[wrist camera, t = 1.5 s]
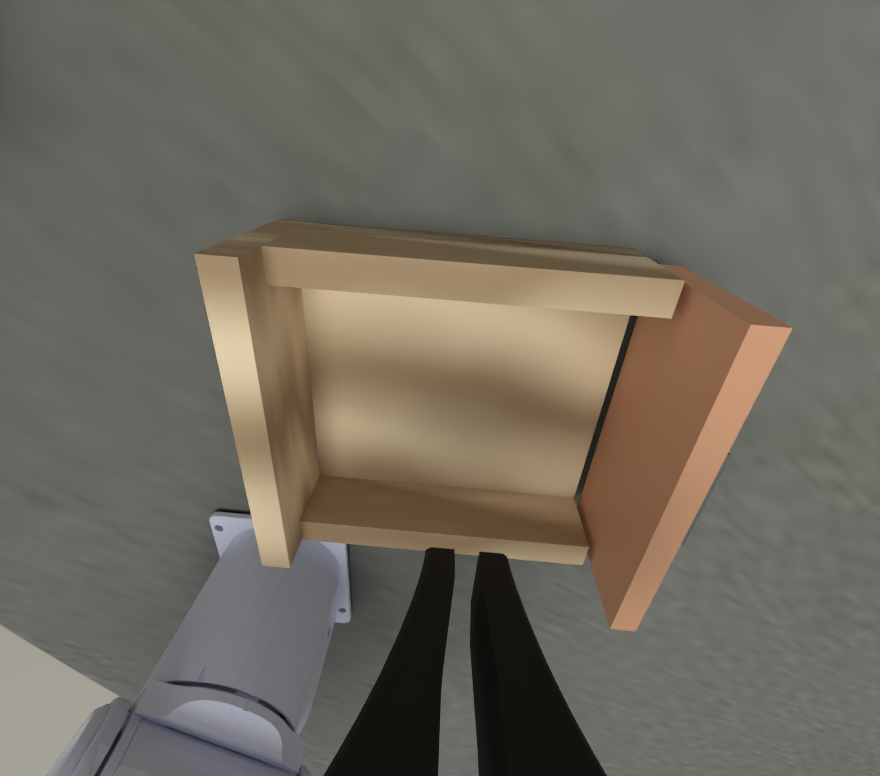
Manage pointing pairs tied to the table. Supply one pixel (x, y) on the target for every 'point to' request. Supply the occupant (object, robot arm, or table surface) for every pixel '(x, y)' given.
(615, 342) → the tray
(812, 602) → the table surface
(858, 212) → the table surface
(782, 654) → the table surface
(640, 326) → the panel
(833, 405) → the table surface
